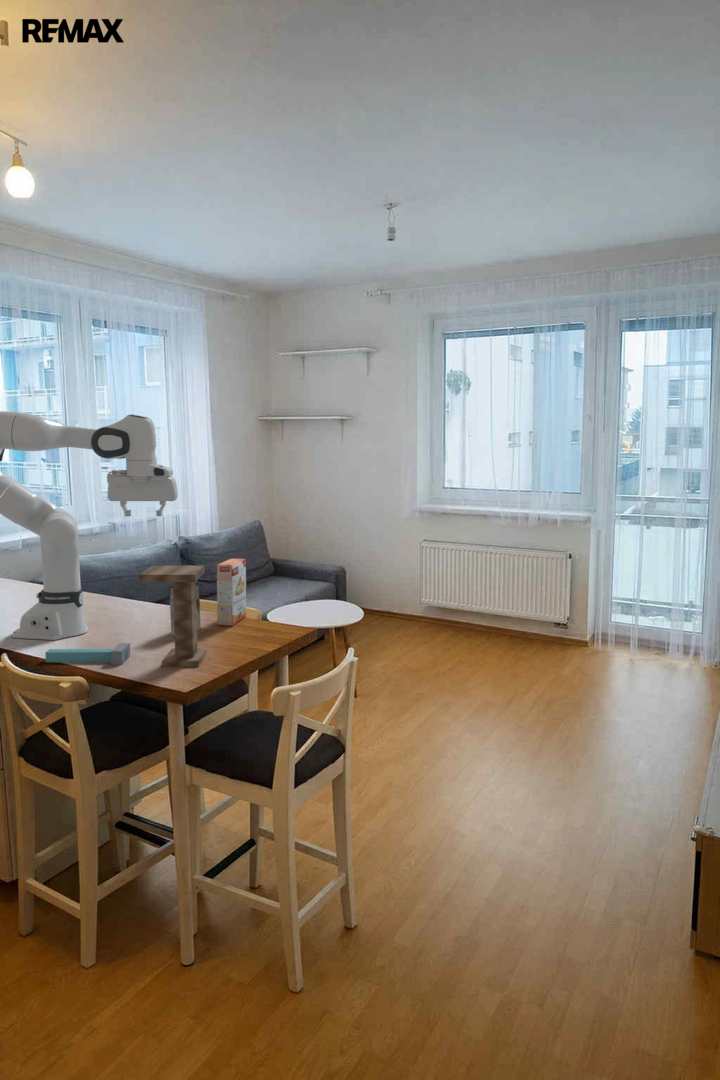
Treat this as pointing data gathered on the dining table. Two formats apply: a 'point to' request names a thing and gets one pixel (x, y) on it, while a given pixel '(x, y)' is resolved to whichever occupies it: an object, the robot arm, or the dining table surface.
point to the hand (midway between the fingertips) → (143, 516)
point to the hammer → (90, 655)
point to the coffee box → (196, 608)
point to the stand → (181, 612)
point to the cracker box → (231, 591)
